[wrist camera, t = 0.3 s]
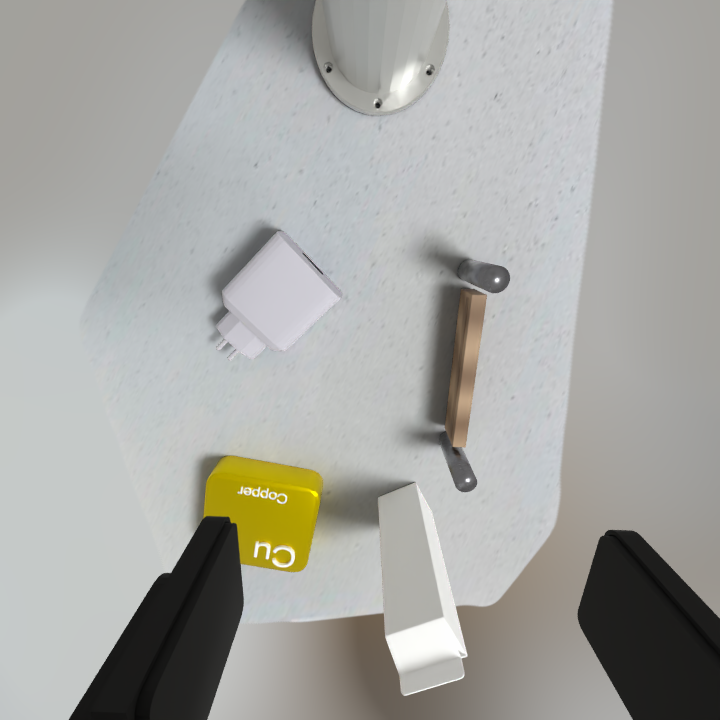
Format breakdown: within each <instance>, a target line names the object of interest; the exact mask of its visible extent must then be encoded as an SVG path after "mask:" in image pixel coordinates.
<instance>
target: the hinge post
mask: <svg viewBox="0 0 720 720" xmlns="http://www.w3.org/2000/svg"><path fill="white" fill-rule="evenodd" d="M458 275H459V277H460V278H461V279H462V280H464V281H466V282H468V283H470V284H473V285H475V286H477V287H479V288H482V289H484V290H486V291H488V292H491V293H499V292H501V291H503V290H504V289H505V288H506V287H507V286H508V284H509V281H510V275H509V272H508V270H507V269H506V268H504V267H502V266H498V265H493V264H489V263H484V262H479V261H475V260H465V261H463V262H462V263H461V264H460V266H459V268H458Z"/></svg>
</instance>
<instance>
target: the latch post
mask: <svg viewBox="0 0 720 720" xmlns="http://www.w3.org/2000/svg"><path fill="white" fill-rule="evenodd" d="M439 442H440V445H441V448H442V451H443V453H444V456H445V459H446V461H447V464H448V467H449V470H450V472H451V475H452V478H453V481H454V483H455V486H456V488H457V489H458V490H459V491H461V492H469V491H472V490H473V489H474V488H475V487H476V485H477V479H476V477H475V475H474V473H473V471H472V468H471V466H470V464H469V462H468V460H467V458H466V455H465V453H464V451H463V449H462V447H453V446H452V444H451V441H450V439H449V437H448V434H447V432H444V433H442V434H441V435H440V437H439Z"/></svg>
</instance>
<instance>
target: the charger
mask: <svg viewBox="0 0 720 720" xmlns="http://www.w3.org/2000/svg"><path fill="white" fill-rule="evenodd" d="M302 253H304V254H305V255H306V256H307V254H306V253H305V252H304V251H303V250H302V249H301V248H300V247H299V246H298V245H297V244H296V243H295V242H294V241H293V240H292V239H291V238H290V237H289V236H288V235H287V234H286V233H285V232H281V231H277V232H276V233H275V234H274V235H273V236H272V237H271V239H270V240H269V241H268V242H267V243H266V244H265V245H264V246H263V247H262V248H261V249H260V250H259V251H258V252H257V254H256V255H255V256H254V257H253V258H252V259H251V260H250V261H249V262H248V263H247V264H246V265H245V266H244V268H243V269H242V270H241V271H240V272H239V273H238V274H237V275H236V276H235V277H234V278H233V279H232V280H231V281H230V283H229V284H228V285H227V286H226V287H225V288H224V289H223V290H222V297H223V304H224V306H225V307H226V308H227V309H228V310H229V312H228V313H227V314H226V315H225V316H224V317H223V318H222V319H221V320H220V321H219V322H218V323H217V324H216V327H217V329H218V330H219V332H220V333H221V335H222V336H223V338H224V340H223V341H222V342H221V343H220V344H219V345H218V346H217V347H216V349H217V350H220V349H221V348H222V347H223V346H224V345H225V344H226V343H227V342H229V343H230V344H231V345H232V346H233V347H234V348H235V350H234V351H233V352H232V353H231V354H230V355H229V356H228V357H227V359H228V360H229V361H231V360H232V359H233V358H234V357H235V356H236V355H237V354H238V353H239V352H240V353H242V354H243V355H245V356H247V357H248V358H250V359H254V358H255V357H256V356H257V355H258V354H259V353H260V352H262V351H263V350H264V349H265V348H266V347H268V348H270V349H271V350H273V351H286V350H287V349H288V348H289V347H290V346H291V345H292V344H293V343H294V342H295V341H297V340H298V339H299V338H300V337H301V336H302V335H303V334H304V333H305V332H306V331H307V330H308V329H309V328H310V327H311V326H312V325H313V324H314V323H315V322H316V321H318V320H319V319H320V318H321V317H322V316H323V315H324V314H325V313H326V312H327V311H328V310H329V309H330V308H331V307H332V306H333V305H334V304H335V303H336V302H337V301H338V300H340V299H341V297H342V292H341V291H340V290H339V288H338V287H337V286H336V285H335V284H334V283H333V282H332V281H331V280H330V279H329V278H328V277H327V276H326V275H325V274H324V272H323V271H322V270H321V269H320V268H319V267H318V266H317V265H316V264H315V263H314V262H313V261H312V260H311V259H310V258H309V257H308V256H307V257H308V258H309V259H310V260H311V261H312V262H313V263H314V264H315V265H316V266H317V267H318V268H319V269H320V270H321V272H322V273H323V275H322V274H321V273H320V272H319V271H318V270H317V269H316V268H315V267H314V266H313V265H312V263H311V262H310V261H309V260H308V259H307V258H306V257H305V256H304V255H303V254H302Z"/></svg>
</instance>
